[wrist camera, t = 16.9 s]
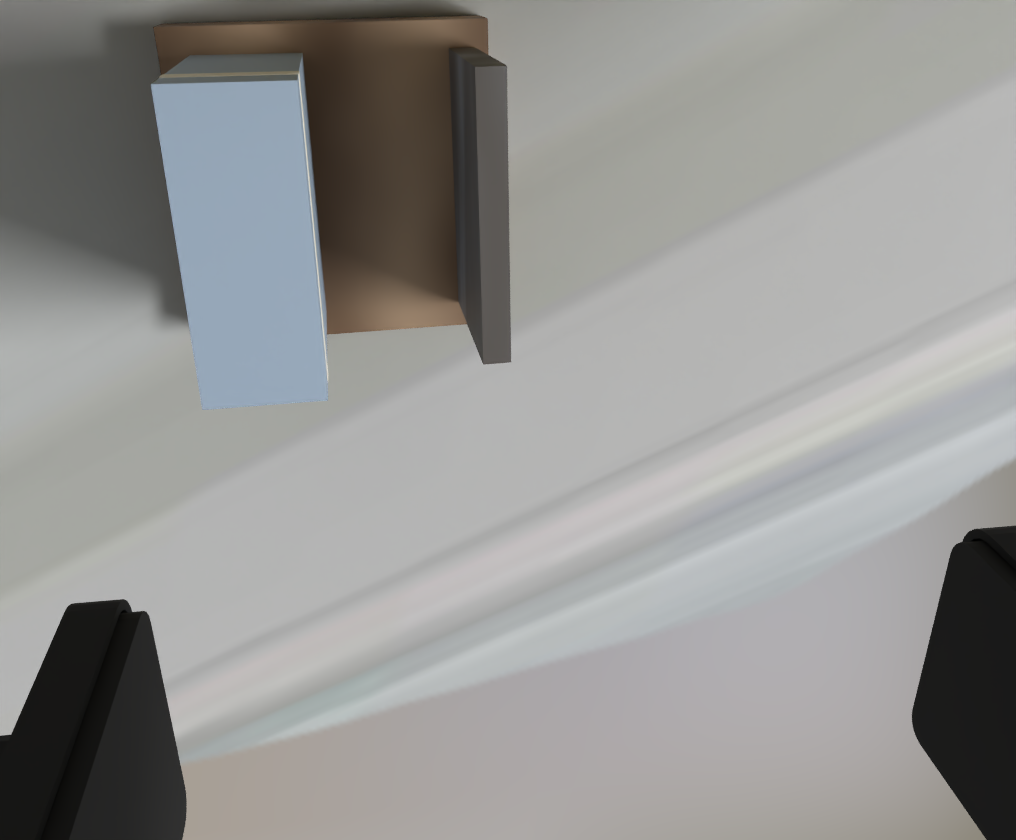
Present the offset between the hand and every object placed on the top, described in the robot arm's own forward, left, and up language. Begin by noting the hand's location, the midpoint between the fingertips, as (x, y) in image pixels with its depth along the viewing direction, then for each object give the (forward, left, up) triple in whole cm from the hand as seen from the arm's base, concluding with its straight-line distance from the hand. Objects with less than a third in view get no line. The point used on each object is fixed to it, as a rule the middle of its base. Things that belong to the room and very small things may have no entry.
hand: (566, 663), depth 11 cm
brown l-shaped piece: (+2, +1, -32) cm, 32 cm away
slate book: (+5, +1, -30) cm, 30 cm away
